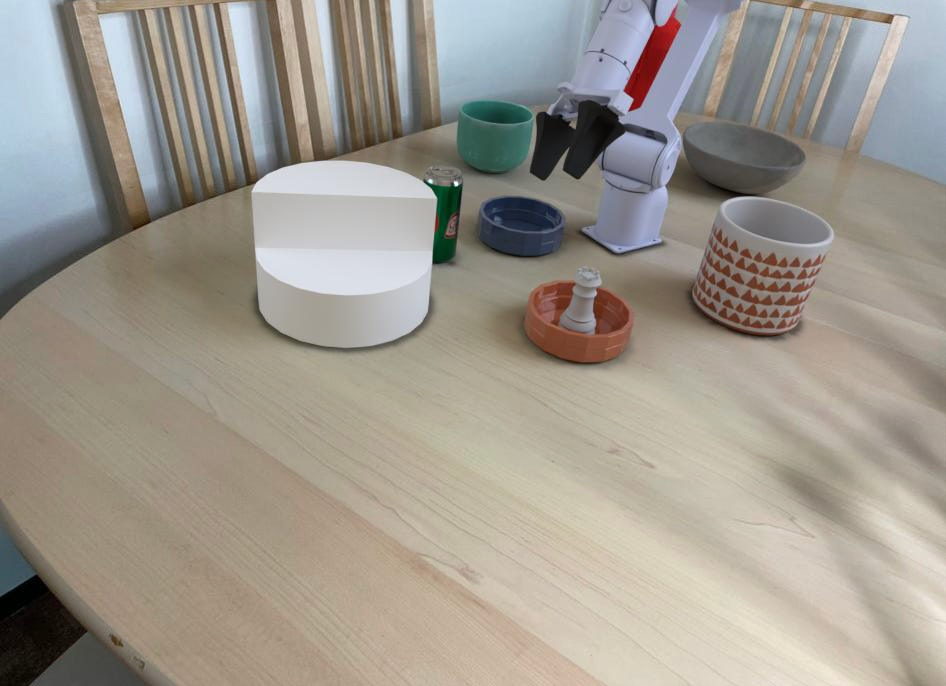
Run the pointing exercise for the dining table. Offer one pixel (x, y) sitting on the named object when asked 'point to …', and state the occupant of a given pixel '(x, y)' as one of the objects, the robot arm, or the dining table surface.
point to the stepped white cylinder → (343, 251)
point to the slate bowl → (520, 225)
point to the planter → (761, 264)
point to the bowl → (742, 156)
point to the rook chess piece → (582, 303)
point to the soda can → (445, 209)
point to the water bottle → (651, 60)
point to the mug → (494, 134)
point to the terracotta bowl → (598, 347)
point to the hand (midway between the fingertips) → (553, 175)
